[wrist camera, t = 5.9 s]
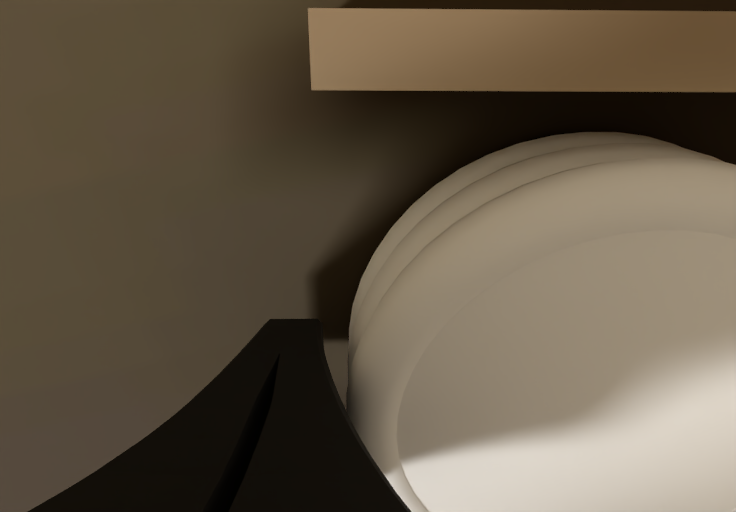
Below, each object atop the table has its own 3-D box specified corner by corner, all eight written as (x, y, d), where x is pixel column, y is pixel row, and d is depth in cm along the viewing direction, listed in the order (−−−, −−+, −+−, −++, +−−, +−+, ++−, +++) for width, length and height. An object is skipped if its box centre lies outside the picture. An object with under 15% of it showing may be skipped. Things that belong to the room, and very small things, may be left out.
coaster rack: (713, 511, 15) (792, 617, 12) (339, 515, 15) (335, 624, 12) (948, 23, 9) (1210, 14, 6) (324, 18, 9) (308, 8, 6)
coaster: (333, 139, 10) (321, 187, 6) (810, 113, 10) (1034, 149, 6) (360, 474, 14) (360, 602, 11) (691, 457, 14) (790, 582, 11)
